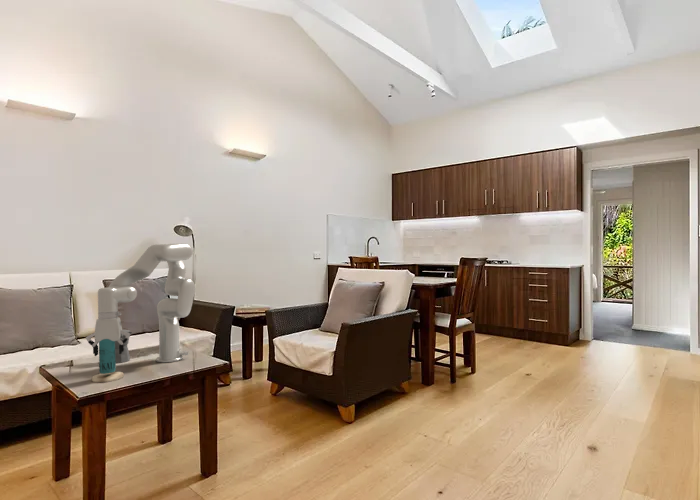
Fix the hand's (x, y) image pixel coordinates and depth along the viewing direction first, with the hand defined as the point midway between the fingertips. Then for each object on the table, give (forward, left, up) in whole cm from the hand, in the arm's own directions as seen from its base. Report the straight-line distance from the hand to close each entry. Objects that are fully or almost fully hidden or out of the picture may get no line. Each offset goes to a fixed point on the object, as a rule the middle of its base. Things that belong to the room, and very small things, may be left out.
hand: (108, 354), depth 183 cm
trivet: (0, 0, -11) cm, 11 cm away
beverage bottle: (0, 0, -9) cm, 9 cm away
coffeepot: (+3, -32, -11) cm, 34 cm away
